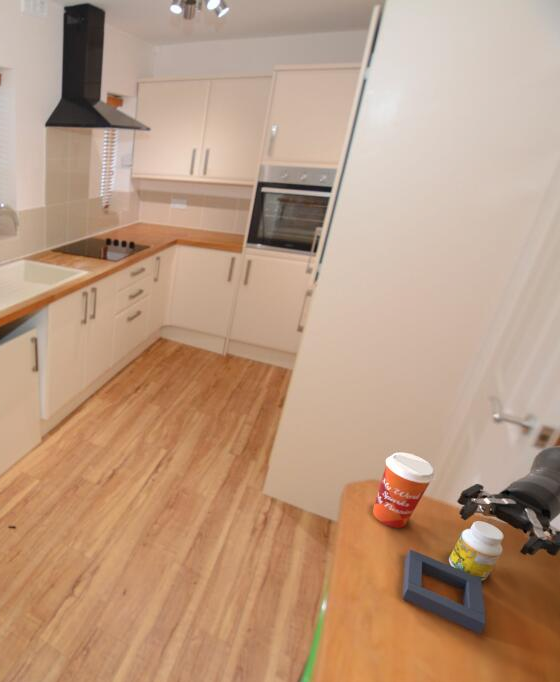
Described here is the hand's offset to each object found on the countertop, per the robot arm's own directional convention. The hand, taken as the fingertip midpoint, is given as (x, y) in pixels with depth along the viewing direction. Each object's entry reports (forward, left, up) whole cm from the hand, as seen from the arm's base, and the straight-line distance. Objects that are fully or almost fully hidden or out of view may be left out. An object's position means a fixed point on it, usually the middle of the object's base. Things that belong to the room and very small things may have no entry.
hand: (493, 531), depth 81 cm
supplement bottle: (+1, +3, -8) cm, 8 cm away
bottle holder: (+5, +12, -7) cm, 15 cm away
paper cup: (+13, -3, -8) cm, 16 cm away
